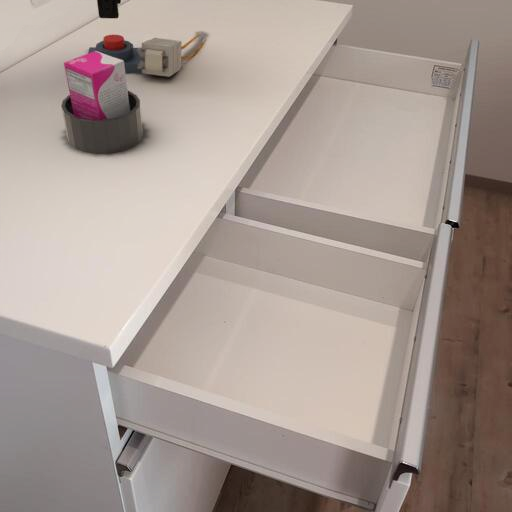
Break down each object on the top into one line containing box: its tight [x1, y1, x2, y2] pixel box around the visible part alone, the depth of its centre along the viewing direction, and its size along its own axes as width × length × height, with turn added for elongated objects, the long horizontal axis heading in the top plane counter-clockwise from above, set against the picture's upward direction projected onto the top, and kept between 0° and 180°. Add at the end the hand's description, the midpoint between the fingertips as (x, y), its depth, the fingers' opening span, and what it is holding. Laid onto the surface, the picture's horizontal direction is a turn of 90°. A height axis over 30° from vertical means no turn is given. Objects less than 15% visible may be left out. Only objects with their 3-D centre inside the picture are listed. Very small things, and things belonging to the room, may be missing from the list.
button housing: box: [87, 39, 143, 74], centre depth 100 cm, size 10×8×4 cm
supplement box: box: [63, 51, 130, 120], centre depth 76 cm, size 6×6×12 cm
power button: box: [102, 34, 125, 50], centre depth 98 cm, size 4×4×2 cm
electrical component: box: [136, 31, 207, 78], centre depth 103 cm, size 24×6×5 cm, turn 168°
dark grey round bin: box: [61, 90, 144, 155], centre depth 78 cm, size 11×11×6 cm
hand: (110, 9), depth 94 cm, fingers open, 7 cm apart
